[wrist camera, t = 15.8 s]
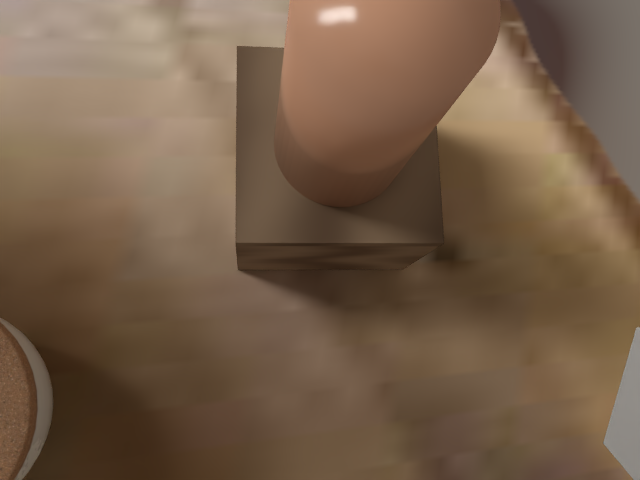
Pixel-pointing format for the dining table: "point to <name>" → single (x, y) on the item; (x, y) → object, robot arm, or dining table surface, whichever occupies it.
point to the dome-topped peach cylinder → (371, 87)
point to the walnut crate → (311, 217)
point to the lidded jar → (22, 403)
